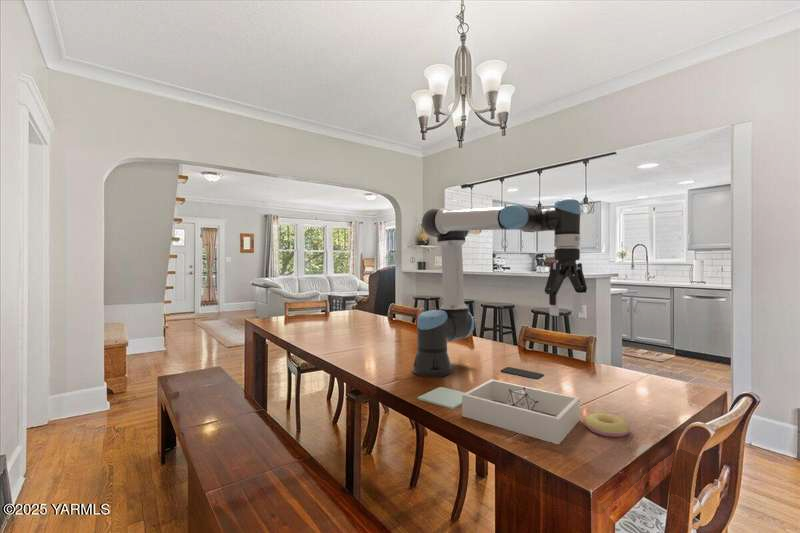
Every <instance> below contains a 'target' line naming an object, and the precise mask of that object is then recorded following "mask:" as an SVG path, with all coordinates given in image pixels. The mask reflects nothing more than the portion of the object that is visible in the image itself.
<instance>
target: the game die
mask: <svg viewBox="0 0 800 533" xmlns="http://www.w3.org/2000/svg"><path fill="white" fill-rule="evenodd" d="M525 387H526V386H525ZM525 387H524V388H523V390H517V391H511V389H509V391H510V394H509V396H508V399H507V401H506V403H505V404H507V405H511V406H515V407H519V408H523V409H527V410H531V411H534V410H533V408H534V406H535V403H538V402H539V401H534V399H533V398H532V397H531V396H530V395H529V394H528V393H527V392H526V391H525Z"/></svg>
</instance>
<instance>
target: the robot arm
mask: <svg viewBox="0 0 800 533" xmlns="http://www.w3.org/2000/svg"><path fill="white" fill-rule="evenodd" d="M421 226H422V229H423V231H424V232H425V233H426V234H427V236H431V237H434V238H436V239H437V244H438V245H439V247H440V250H441V251H440V252H441V270H442V272H441V273H442V298H443V304H442V305H441V307H439V309H433V310H426V311H423V312H420V313H419V314H418V317H417V323H416V326H417V327H416V330H417V332H416V334H417V338H416V339H417V345H416V346H417V352H416V355H415V358H414V361H413V364H412V372H413V373H414V374H415V373H416V375H417V374H418V376H421V375H422V377H426V376H428V377H427V378H429V377H430V378H439V377H440V378H441V377H446V376H449V375H450V374H452V373H453V372H452V370H453V369H452V367H453V366H452V363H451V360H450V357H449V354H448V343H449V342H454V341H461V340H463V339H466V338H468V337H470V335H471V334H472V333H473V332H474V329H475V319H474V316H473V315H472V313H471V312H469V306H468V305H467V304H466V303H465V292H464V290H465V289H464V288H465V287H464V266H463V265H464V264H463V262H464V260H463V245H464V244H465V243H466V237H468V234H469V233H470V231H494V230H495V231H497V230H498V231H499V230H502V231H503V230H506V231H507V230H508V231H509V230H510V231H511V230H519V231H522V232H524V233H535V232H536V233H537V232H545V231H546V232H549V231H550V232H551V231H554V239H553V240H554V244H553V245H554V248H555V249H554V256H553V257H554V260H555V261H557V262H551V263H550V271H549V274H548V277H547V280H546V283H545V284H546V285H545V287H544V293H545V295H549V297H548V298H549V299H548V301H549V316H554V317H559V316H560V312H559V311H560V295H559V294H558V293H559V291H560V288H561V287H562V284H563V283H564V280H565V279H566V278H567V279H569V282H571V286H572V288H573V289H574V292H573V312H574V313H583V311H584V310H583V309H584V308H583V306H584V304H583V303H584V301H583V300H584V293H587V289H588V286H587V283H586V279H585V275H584V271H583V264H582V263H583V262H576V261H579V260H580V259H581V258H580V257H581V253H580V252H581V251H580V246H581V245H580V244H581V242H580V241H581V237H580V236H581V235H580V234H581V231H580V230H581V208H580V201H579V200H578V199H575V198H574V199H573V198H569V199H566V198H565V199H559V200H555V202H554V206H553V207H549V208H539V209H538V208H534V207H529V206H528V207H527V206H523V205H520V204H507V205H505V206H498V207H497V206H495V207H484V208H471V209H459V210H457V209H456V210H455V209H447V208H440V207H439V208H438V207H436V208H435V207H433V208H430V209H428V210H427V211H426V212H425V213H424V214H423V216H422V218H421Z"/></svg>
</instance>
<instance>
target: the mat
mask: <svg viewBox="0 0 800 533" xmlns="http://www.w3.org/2000/svg"><path fill="white" fill-rule="evenodd" d="M464 393H465V392H463V391H458V390H454V389H451V388H447V387H443V386H439V387H436V388H434V389H433V390H431V391H427V392H426V393H423V394H422V395H419V396H417V400H419V401H423V402H427V403H430V404H433V405H437V406H440V407H444V408H446V409H451V410H455V409H457V408H458V407H460V406H461V405H462V395H463V394H464Z"/></svg>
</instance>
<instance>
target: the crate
mask: <svg viewBox="0 0 800 533" xmlns="http://www.w3.org/2000/svg"><path fill="white" fill-rule="evenodd" d="M524 387H525V391H526V392H527V393H528V394H529V395H530V396H531V397H532V398H533V399H534V401H539V402H538V403H535V406H534V408H533V410H532V411H531V410H527V409H523V408H519V407H515V406H511V405H507V404H506V401H507V399H508V396H509V394H510V391H509V389H511V391H517V390H523V388H524ZM580 405H581V398H580V397H578V396H577V397H576V396H572V395H566V394H561V393H556V392H553V391H547V390H545V389H539V388H534V387H530V386H524V385H520V384H514V383H511V382H506V381H501V380H497V379H493V378H491V379H489V380H488V381H486V382H484V383H482V384H480V385H478V386H476V387H474V388H472V389H470V390H469V391H467V392H464V394H463V395H462V406H461V414H462V415H461V416H462V417H464V418H467V419H471V420H473V421H474V420H475V421H477V422H481V423H485V424H488V425H490V426H495V427H498V428H502V429H503V430H504V429H505V430H508V431H511V432H515V433H518V434H522V435H524V436H529V437H532V438H536V439H537V440H538V439H539V440H542V441H545V442H547V443H551V442H552V444H555V445H558V444H559V445H560V444H561V443H562V442H563V441H564V440H565V438H566V437H567V436H568V435H569V434H570V432H571V431H572V430H573V429H574V428H575V426H576V425H577V424H578V423H579V421H580V418H581V408H580V407H581V406H580ZM567 434H568V435H567ZM561 441H562V442H561Z"/></svg>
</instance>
